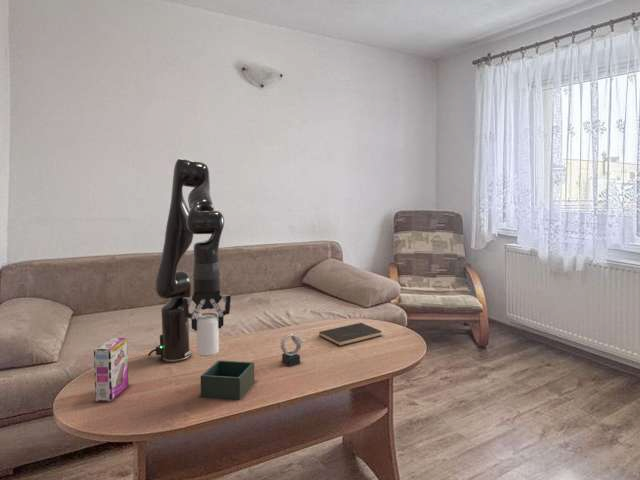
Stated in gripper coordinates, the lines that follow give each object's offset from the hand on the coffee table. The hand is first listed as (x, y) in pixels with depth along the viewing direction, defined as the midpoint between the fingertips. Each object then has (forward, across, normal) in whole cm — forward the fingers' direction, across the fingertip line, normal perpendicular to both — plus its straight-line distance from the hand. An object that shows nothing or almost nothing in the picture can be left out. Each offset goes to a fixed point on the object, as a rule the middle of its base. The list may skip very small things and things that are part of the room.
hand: (207, 328), depth 136 cm
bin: (+21, -6, -2) cm, 22 cm away
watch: (+22, -30, -16) cm, 40 cm away
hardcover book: (+22, -62, -36) cm, 75 cm away
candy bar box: (+22, +28, -11) cm, 37 cm away
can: (+8, 0, 0) cm, 8 cm away
